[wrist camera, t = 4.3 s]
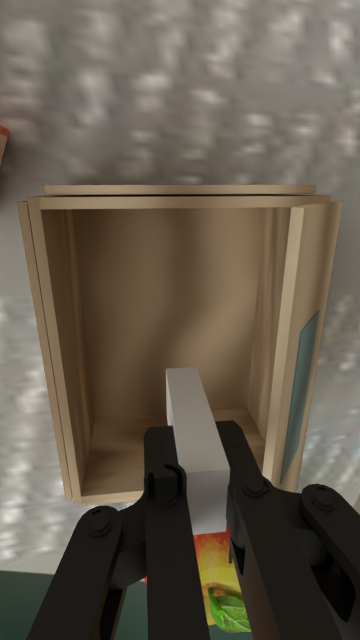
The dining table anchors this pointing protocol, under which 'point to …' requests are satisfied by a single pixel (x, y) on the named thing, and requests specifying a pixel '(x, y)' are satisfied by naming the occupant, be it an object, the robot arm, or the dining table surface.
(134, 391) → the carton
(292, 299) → the flap
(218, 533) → the fruit
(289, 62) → the dining table surface
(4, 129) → the cracker box
